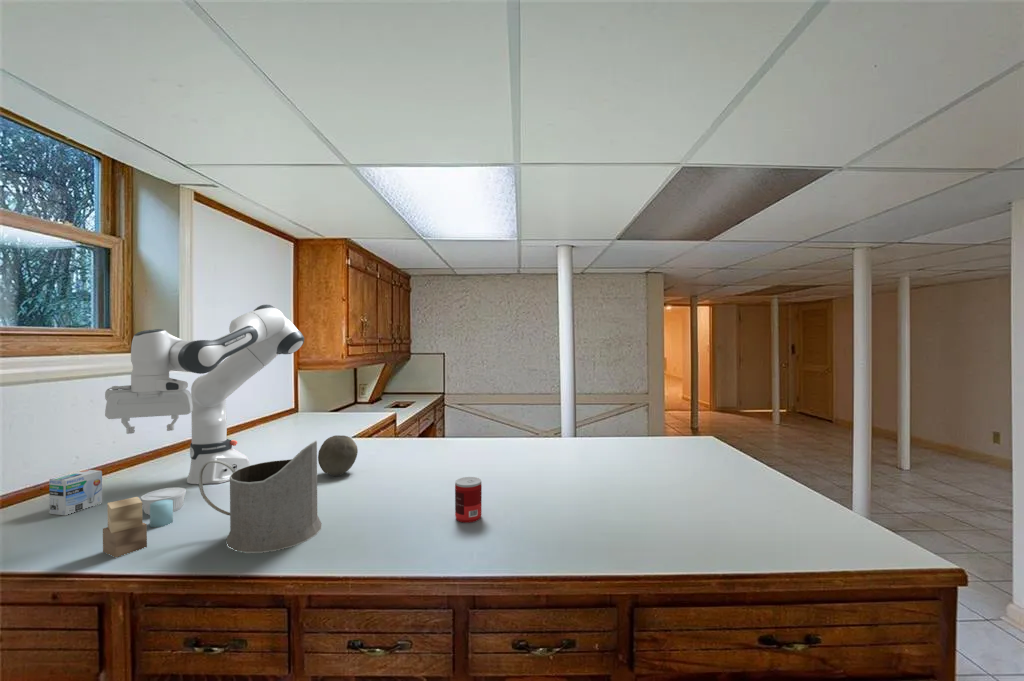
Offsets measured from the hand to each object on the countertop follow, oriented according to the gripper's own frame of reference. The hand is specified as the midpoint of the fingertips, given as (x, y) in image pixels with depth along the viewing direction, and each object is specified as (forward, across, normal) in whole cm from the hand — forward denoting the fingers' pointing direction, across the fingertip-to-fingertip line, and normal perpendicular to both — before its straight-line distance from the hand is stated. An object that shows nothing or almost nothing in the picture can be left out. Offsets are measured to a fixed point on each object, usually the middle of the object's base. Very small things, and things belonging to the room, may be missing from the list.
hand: (150, 431), depth 135 cm
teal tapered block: (+26, +3, -4) cm, 26 cm away
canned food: (+26, +85, -38) cm, 97 cm away
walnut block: (+26, -1, -20) cm, 33 cm away
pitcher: (+26, +30, -24) cm, 46 cm away
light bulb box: (+26, -24, +21) cm, 41 cm away
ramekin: (+26, +1, +8) cm, 27 cm away
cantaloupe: (+26, +53, +23) cm, 64 cm away
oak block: (+20, -1, -20) cm, 29 cm away
